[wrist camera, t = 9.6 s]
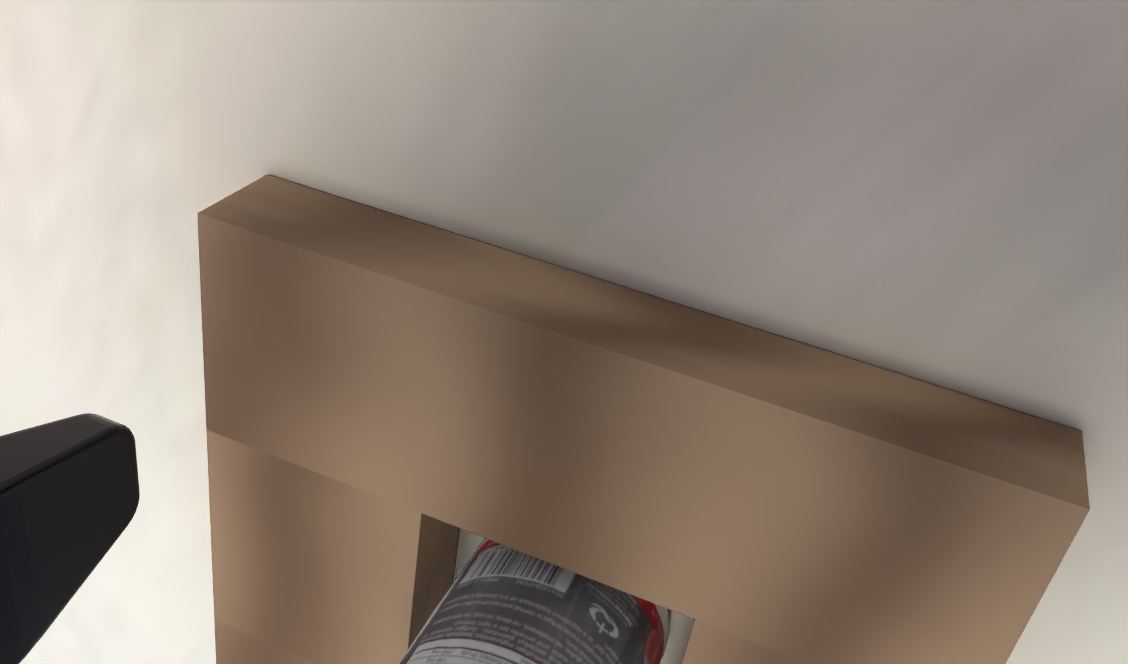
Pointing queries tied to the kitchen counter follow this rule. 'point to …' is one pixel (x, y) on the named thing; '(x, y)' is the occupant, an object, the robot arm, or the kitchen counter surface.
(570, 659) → the pill bottle
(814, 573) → the hole plate
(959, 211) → the kitchen counter surface
